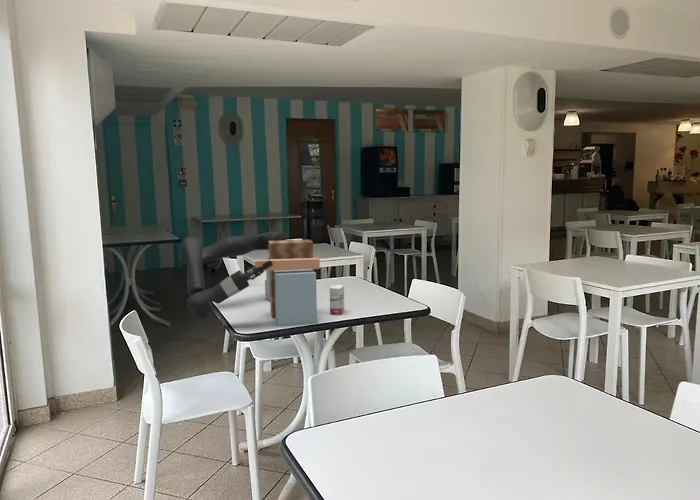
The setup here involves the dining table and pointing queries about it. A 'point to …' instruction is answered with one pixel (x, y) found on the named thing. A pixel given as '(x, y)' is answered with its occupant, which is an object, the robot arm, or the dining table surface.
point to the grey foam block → (295, 297)
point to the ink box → (336, 299)
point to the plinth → (286, 251)
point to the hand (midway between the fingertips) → (271, 261)
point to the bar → (290, 264)
